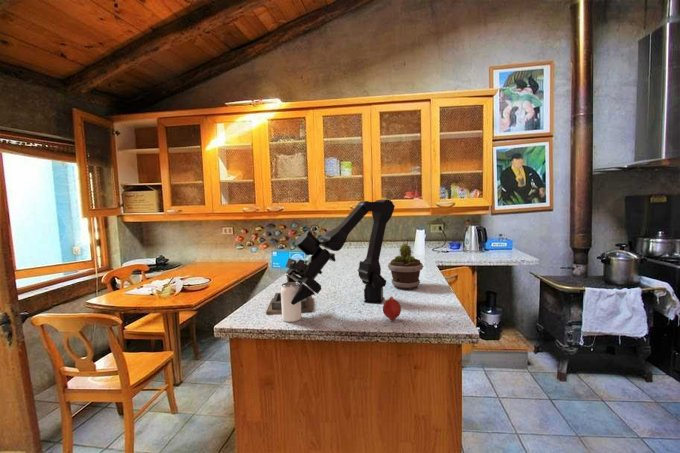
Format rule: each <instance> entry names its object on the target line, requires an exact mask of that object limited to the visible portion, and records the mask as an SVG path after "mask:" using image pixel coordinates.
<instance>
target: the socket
mask: <svg viewBox="0 0 680 453" xmlns="http://www.w3.org/2000/svg"><path fill="white" fill-rule="evenodd" d="M274 294H275V295H274V296H273V297H272V298H271V300H270V301H269V303H268V306H267V309H266V312H265V315H275V314H278V315H279V314H281V315H282V305H281V292H275V293H274ZM312 307H313V295H312V296H309V297H307V298H305V299H303V300H302V301H301V313H309V312H310V313H311V312H312Z"/></svg>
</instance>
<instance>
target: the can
mask: <svg viewBox="0 0 680 453" xmlns="http://www.w3.org/2000/svg"><path fill="white" fill-rule="evenodd" d="M298 284H299V283H298V282H297V283H296V282H288V283H287V282H285V283H282V284H281V289H280V293H281V305H282V314H281V319H282V320H283V322H285V323H295V322H298V321H300V320H301V319H302V312H301V301H300V302H298V303H296V304H294V305H293V304H291V301H292V300H293V298H294V296H295V295H296V293H297V291H298V290H299V285H298Z"/></svg>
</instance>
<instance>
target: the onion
mask: <svg viewBox="0 0 680 453" xmlns="http://www.w3.org/2000/svg"><path fill="white" fill-rule="evenodd" d="M401 312H402V307H401V304H400V303H399V301H397V300H396V299H395V298H394V296H390V297H389V298H388V299H387V300H386V301H385V302H384V304H383V306H382V313H383V315H384V316H385V317H386V318H387V319H388V320H390V321H392V322H393V321H395V320H396V319H397V318H398V317H400V315H401Z"/></svg>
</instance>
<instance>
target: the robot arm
mask: <svg viewBox="0 0 680 453" xmlns="http://www.w3.org/2000/svg"><path fill="white" fill-rule="evenodd" d="M394 210H395V204H394V203H393V201H392V200H391V199H377V200H375V201H369V200H361V201H359V202H358V203H357V205H356V206H355V208H353V209H352V211H350V213H349V214H348V215H347V216H346V217H345V218H344V219H343V221H342V222H341V223H340V224H339V225H337V227H335V228H333V229H331V230H330V231H328V232H327V233H326V234H325V235H323V237H320V238H319V237H318V238H317V237H316V236H315V235H314V233H313V232H312V231H311V230H306V231H305V233H302V234H301V235H300V236H298V237H297V238H296V240H295V241H294V245H295V247H296V248H298V249H299V250H300V251H301V252H302V253H303V254H305V255H306V256H310V257H309V258H308V260H307V259H305V260H303V259H301V258H297V260H296V259H293V258H290V257H288V259H287V262H286V264H285V267H286V268H288V270H286V272H285V273H286V280H287V281H286V283H288V282H296V283H298V285H299V290H298V291H297V293H296V295H295V296H294V298H293V300H292V301H291V304H293V305H294V304H296V303H298V302H300V301H302V300H303V299H305V298H307V297H309V296H312V297H313V295H314V296H315V295H316V294H317V295H319V294H320V292H321V291H322V285H321V284H320V283H319V282H318V281H316V280H315V278H316V277H317V276H318V275H322V274H323V271H322V270H323V268H324V267H325V266H326V264H327V263H328V262H329V261H332V262H334V263H335V262H336V254H335V253H333V252H338V251H340V250H341V249H342V248H343V247H344V245H345V243H346V242H347V239H348V236H349V234H350V233H351V232H352V231H353V230H354V228H355V227H356V226H357V225H358V224H359V223H360V222H361V220H362V219H363V218H364V217H365V216H366V215H367V214H369V212H371V216H372V220H373V223H372V228H371V232H370V233H371V234H370V239H369V243H368V248H367V252H366V258H364V260H360V261H359V264H358V269H357V272H358V277H359V278H360V280H361V281H362V284H364V288H363V294H364V295H363V298H364V301H363V302H364V303H368V304H370V303H373V304H382V302H383V301H384V300H385V297H384V287H386V285H387V280H386V279H385V278H384V277H383V276H382V274H381V272H382V268H381V263H380V257H381V252H382V246H383V241H384V238H385V233H386V232H385V231H386V229H387V228H386V227H387V224H388V222H389V221H390V219H391V218H392V216H393V214H394ZM322 247H323V248H322ZM330 251H333V252H330Z"/></svg>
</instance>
